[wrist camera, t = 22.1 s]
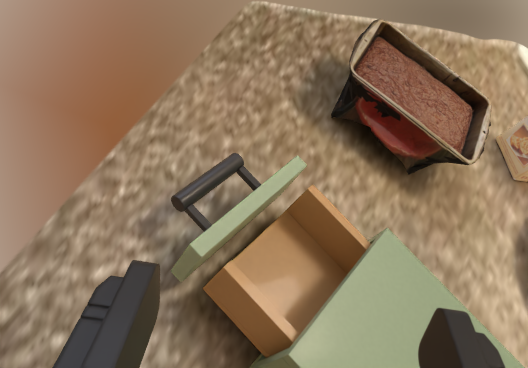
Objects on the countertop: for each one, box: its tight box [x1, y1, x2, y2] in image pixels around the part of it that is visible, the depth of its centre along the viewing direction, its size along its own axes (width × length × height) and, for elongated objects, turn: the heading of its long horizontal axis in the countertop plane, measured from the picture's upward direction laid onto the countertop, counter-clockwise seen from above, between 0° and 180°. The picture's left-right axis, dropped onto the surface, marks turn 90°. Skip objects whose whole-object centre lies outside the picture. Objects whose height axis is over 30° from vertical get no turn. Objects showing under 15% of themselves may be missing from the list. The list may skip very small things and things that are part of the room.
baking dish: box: [331, 19, 492, 175], centre depth 52 cm, size 14×18×10 cm
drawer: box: [171, 153, 371, 358], centre depth 35 cm, size 18×13×5 cm
